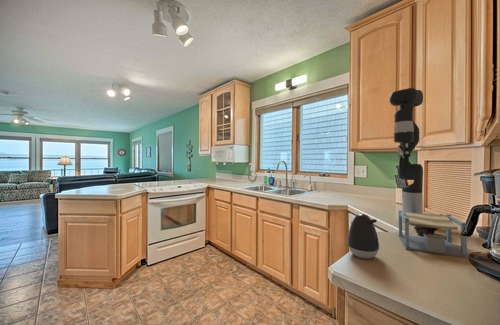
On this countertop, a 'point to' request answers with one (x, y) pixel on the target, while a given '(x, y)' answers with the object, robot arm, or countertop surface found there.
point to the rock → (425, 230)
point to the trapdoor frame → (418, 242)
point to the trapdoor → (430, 221)
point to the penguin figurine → (363, 237)
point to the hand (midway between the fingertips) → (404, 166)
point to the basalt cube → (434, 243)
